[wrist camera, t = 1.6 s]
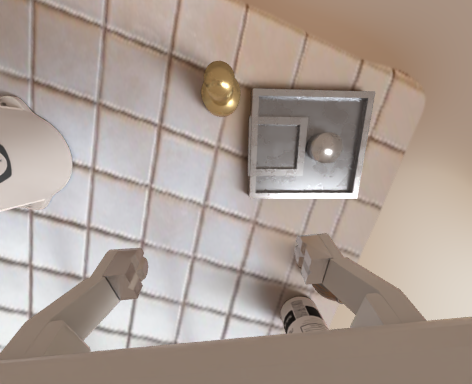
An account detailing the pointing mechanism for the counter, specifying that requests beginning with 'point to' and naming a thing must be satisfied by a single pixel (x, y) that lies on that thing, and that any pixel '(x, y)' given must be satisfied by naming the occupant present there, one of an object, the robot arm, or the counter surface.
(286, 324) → the supplement can
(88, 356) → the robot arm
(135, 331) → the counter surface
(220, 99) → the gold peg with base
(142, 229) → the counter surface
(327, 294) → the vase
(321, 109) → the tray
